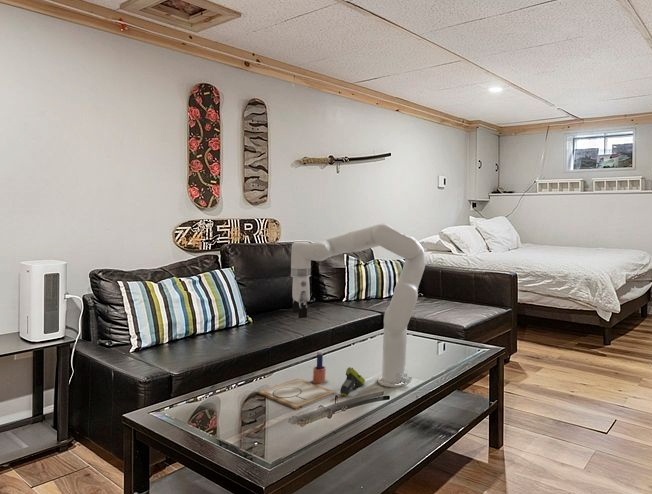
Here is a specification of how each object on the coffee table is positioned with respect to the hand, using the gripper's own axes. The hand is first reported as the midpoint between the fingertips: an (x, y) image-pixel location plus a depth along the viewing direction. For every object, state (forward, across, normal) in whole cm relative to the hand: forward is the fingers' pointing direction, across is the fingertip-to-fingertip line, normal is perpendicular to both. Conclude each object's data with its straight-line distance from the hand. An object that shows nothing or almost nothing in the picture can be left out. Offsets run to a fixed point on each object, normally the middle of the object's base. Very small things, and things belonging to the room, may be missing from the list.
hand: (299, 315), depth 197 cm
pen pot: (+27, -4, -7) cm, 28 cm away
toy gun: (+27, -19, -16) cm, 37 cm away
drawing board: (+27, -12, +3) cm, 30 cm away
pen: (+26, -4, -7) cm, 28 cm away
